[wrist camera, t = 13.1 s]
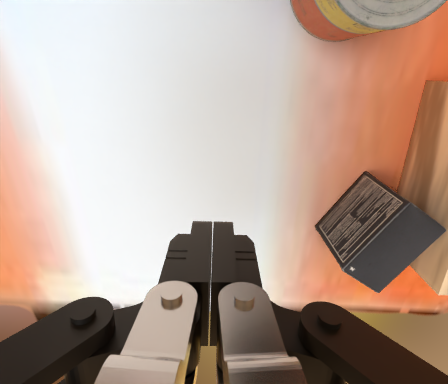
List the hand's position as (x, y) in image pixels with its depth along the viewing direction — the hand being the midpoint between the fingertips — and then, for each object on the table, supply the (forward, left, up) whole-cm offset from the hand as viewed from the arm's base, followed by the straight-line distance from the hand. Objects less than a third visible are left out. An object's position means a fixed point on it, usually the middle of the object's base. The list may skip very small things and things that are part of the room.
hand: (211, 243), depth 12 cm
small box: (+20, -12, -29) cm, 37 cm away
